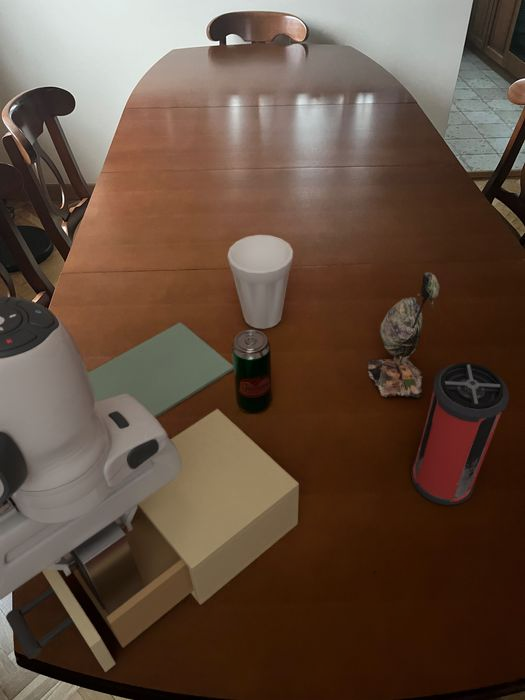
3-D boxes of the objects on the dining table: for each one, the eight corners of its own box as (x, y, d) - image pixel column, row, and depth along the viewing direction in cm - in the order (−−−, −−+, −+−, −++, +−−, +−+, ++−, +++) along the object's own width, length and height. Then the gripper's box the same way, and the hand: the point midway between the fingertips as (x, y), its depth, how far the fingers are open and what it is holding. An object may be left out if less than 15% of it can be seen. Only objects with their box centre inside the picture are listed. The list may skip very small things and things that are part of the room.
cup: (296, 336, 95) (297, 269, 86) (233, 340, 94) (228, 274, 85) (289, 297, 102) (289, 232, 93) (231, 300, 101) (226, 236, 92)
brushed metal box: (109, 619, 61) (82, 565, 53) (81, 577, 64) (51, 520, 56) (146, 590, 63) (125, 534, 55) (117, 551, 67) (93, 492, 58)
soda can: (240, 418, 83) (234, 357, 74) (233, 391, 86) (228, 331, 78) (275, 411, 83) (274, 350, 75) (267, 385, 87) (265, 325, 79)
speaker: (408, 453, 78) (431, 355, 65) (468, 457, 77) (503, 359, 64) (413, 504, 72) (439, 408, 60) (477, 509, 71) (518, 413, 59)
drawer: (60, 709, 56) (40, 686, 52) (2, 604, 64) (-20, 576, 59) (213, 583, 65) (207, 554, 60) (146, 504, 72) (136, 472, 67)
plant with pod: (421, 350, 91) (445, 240, 78) (423, 405, 83) (450, 294, 70) (368, 345, 93) (382, 236, 79) (365, 399, 85) (380, 288, 71)
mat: (120, 440, 80) (119, 437, 80) (71, 384, 88) (70, 382, 88) (234, 369, 90) (234, 366, 89) (180, 324, 97) (180, 321, 97)
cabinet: (200, 605, 64) (191, 568, 58) (129, 515, 72) (114, 475, 66) (298, 523, 71) (299, 483, 65) (222, 450, 79) (217, 408, 73)
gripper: (-52, 574, 42) (11, 646, 52) (182, 423, 52) (198, 508, 61) (-81, 515, 46) (-18, 593, 55) (143, 384, 55) (164, 470, 65)
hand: (97, 547), depth 58 cm, fingers closed on brushed metal box, 4 cm apart
